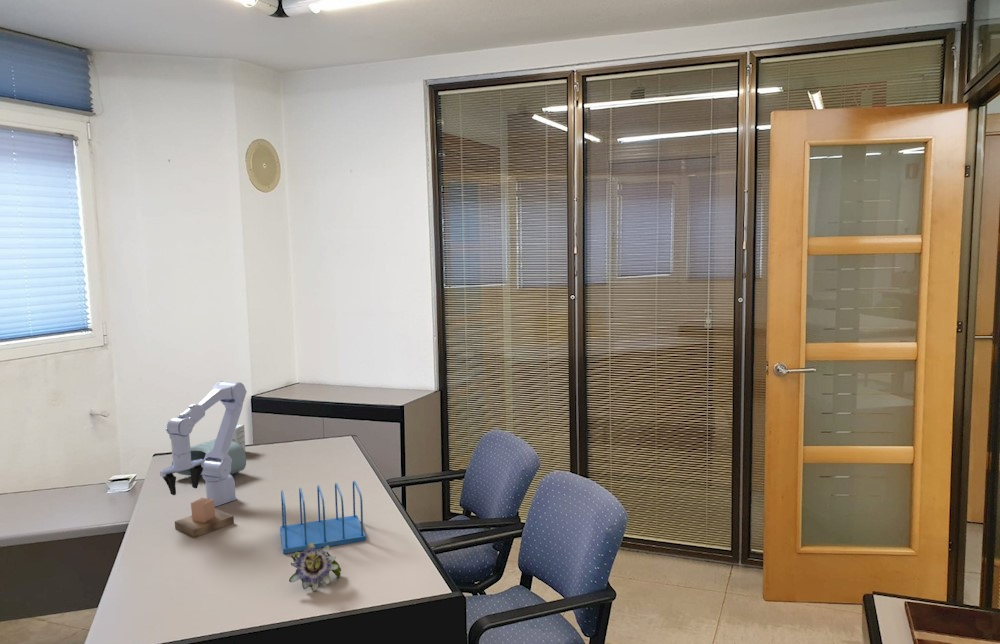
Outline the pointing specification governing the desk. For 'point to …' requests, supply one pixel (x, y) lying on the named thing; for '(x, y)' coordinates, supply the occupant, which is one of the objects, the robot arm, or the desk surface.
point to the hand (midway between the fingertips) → (184, 490)
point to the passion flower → (314, 567)
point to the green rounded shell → (234, 452)
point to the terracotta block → (203, 509)
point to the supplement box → (239, 435)
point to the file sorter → (321, 526)
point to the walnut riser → (204, 524)
